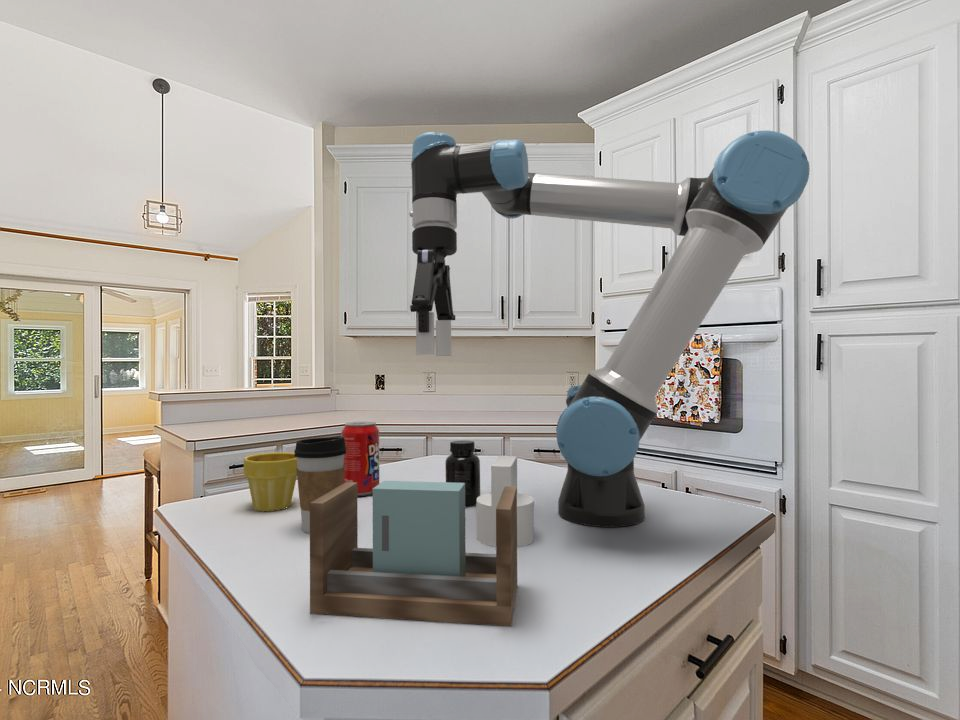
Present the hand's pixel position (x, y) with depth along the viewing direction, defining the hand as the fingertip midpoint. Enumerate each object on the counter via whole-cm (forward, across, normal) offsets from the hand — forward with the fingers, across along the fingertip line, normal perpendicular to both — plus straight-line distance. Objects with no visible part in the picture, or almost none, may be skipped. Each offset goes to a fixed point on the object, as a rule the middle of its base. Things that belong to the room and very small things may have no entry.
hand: (435, 355), depth 85 cm
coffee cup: (+29, +3, -19) cm, 35 cm away
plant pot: (+29, -8, -34) cm, 45 cm away
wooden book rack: (+29, +26, +4) cm, 39 cm away
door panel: (+27, +26, +4) cm, 37 cm away
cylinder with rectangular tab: (+29, +4, +12) cm, 32 cm away
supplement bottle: (+29, -15, +2) cm, 33 cm away
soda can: (+29, -20, -21) cm, 41 cm away
